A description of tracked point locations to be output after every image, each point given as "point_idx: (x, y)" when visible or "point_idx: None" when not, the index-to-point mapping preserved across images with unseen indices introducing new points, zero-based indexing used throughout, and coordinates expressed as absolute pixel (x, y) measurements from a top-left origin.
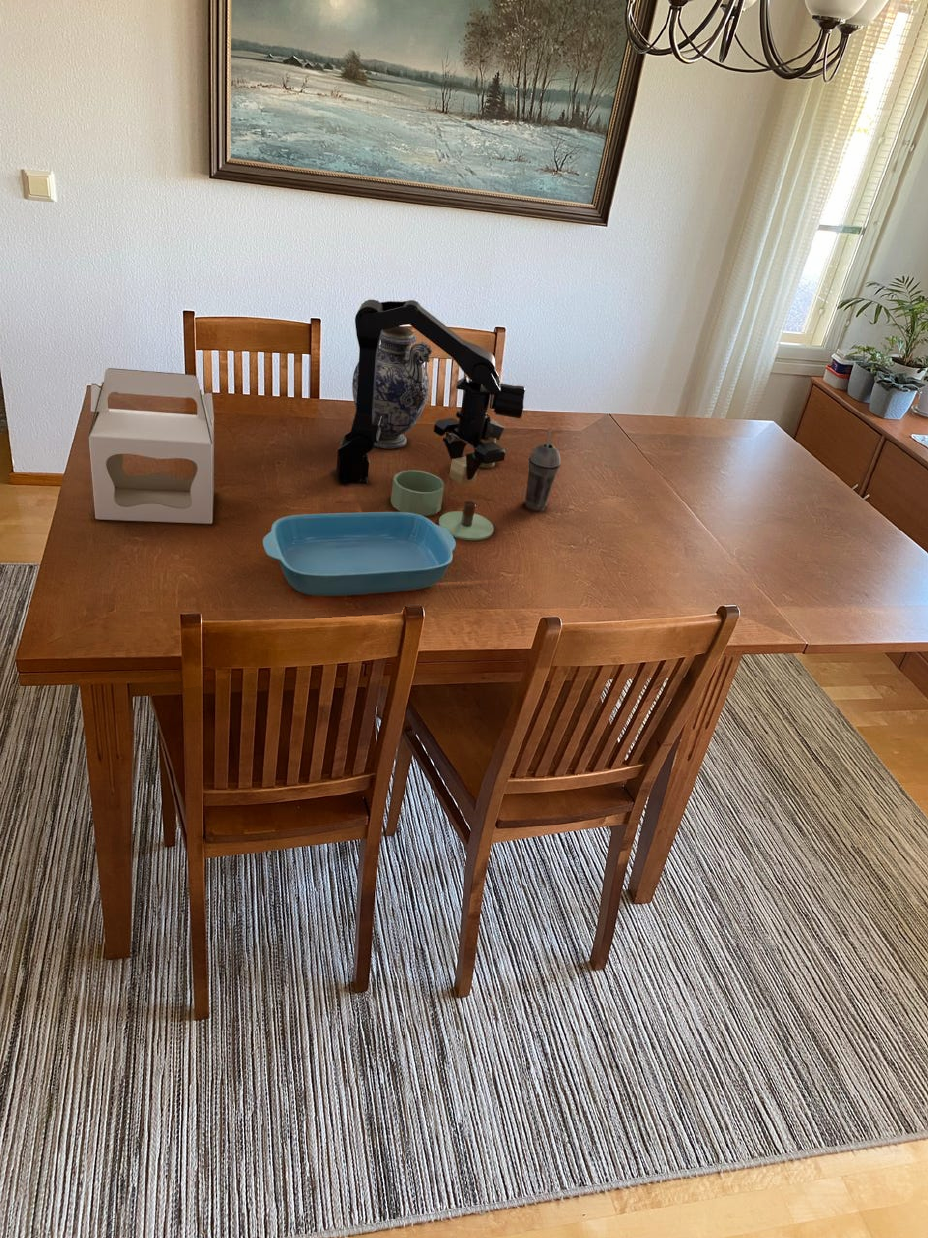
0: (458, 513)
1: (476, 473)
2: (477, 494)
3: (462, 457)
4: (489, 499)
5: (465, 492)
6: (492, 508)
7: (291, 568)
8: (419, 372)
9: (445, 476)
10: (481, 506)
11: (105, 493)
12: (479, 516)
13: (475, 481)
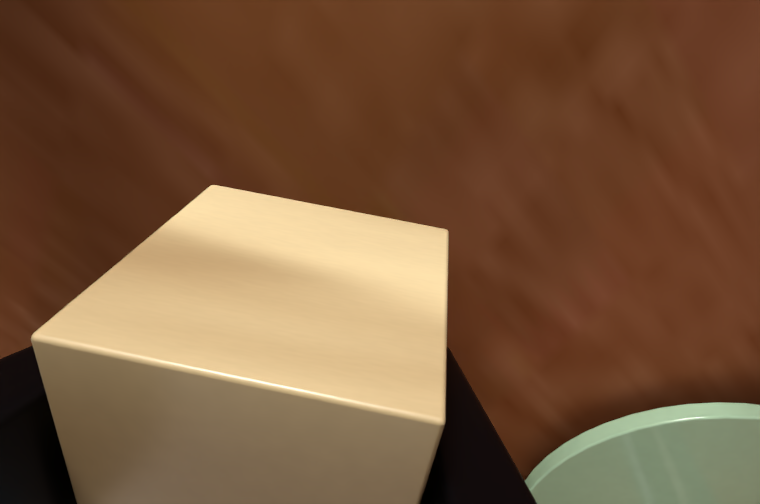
0: (576, 485)
1: (445, 305)
2: (427, 48)
3: (74, 434)
4: (578, 21)
5: (337, 122)
6: (701, 157)
7: None
8: None
9: (8, 28)
10: (598, 211)
11: None
12: (723, 431)
13: (448, 233)
